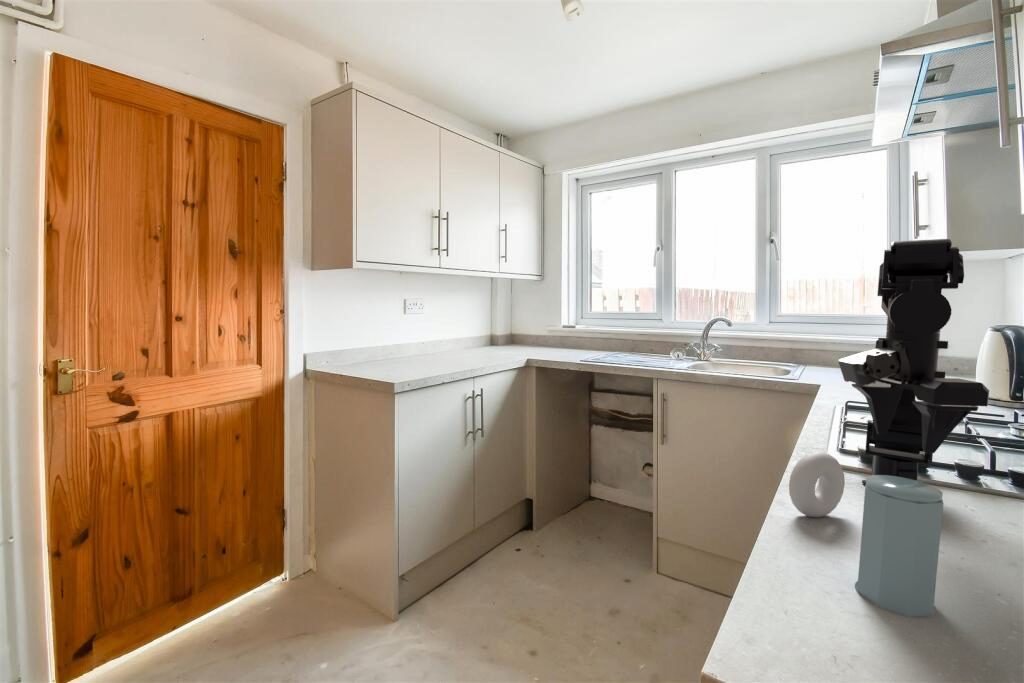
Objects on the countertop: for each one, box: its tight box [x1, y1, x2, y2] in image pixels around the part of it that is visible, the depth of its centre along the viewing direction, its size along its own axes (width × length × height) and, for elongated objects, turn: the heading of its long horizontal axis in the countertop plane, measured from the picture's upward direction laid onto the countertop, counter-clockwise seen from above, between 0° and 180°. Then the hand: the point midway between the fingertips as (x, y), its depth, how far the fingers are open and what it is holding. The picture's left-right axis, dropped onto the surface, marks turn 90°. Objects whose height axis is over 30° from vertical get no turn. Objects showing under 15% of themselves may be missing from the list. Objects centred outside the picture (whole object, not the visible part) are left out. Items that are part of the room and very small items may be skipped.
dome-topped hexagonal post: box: [856, 474, 944, 618], centre depth 52 cm, size 6×6×13 cm
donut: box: [788, 451, 846, 518], centre depth 73 cm, size 10×3×10 cm, turn 112°
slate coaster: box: [854, 580, 937, 619], centre depth 53 cm, size 7×7×1 cm
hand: (903, 442), depth 68 cm, fingers open, 9 cm apart
